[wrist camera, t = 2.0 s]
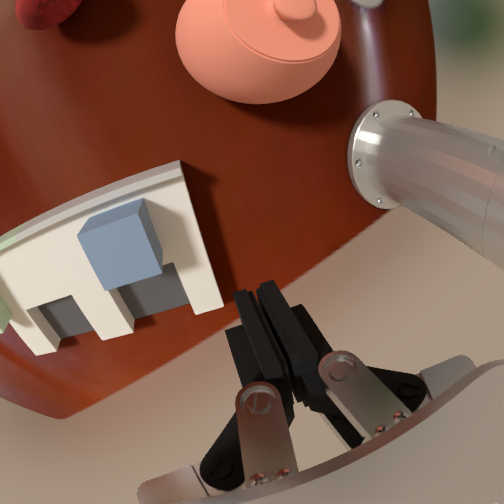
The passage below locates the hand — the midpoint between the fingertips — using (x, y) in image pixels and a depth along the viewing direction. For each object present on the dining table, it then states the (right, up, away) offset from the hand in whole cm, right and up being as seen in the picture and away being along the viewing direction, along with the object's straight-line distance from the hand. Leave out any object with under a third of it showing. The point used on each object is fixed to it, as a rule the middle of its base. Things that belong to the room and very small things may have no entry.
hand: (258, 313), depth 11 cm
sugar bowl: (-1, +21, +7) cm, 22 cm away
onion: (-16, +23, +1) cm, 29 cm away
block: (-11, +4, +10) cm, 15 cm away
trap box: (-17, 0, +13) cm, 21 cm away
